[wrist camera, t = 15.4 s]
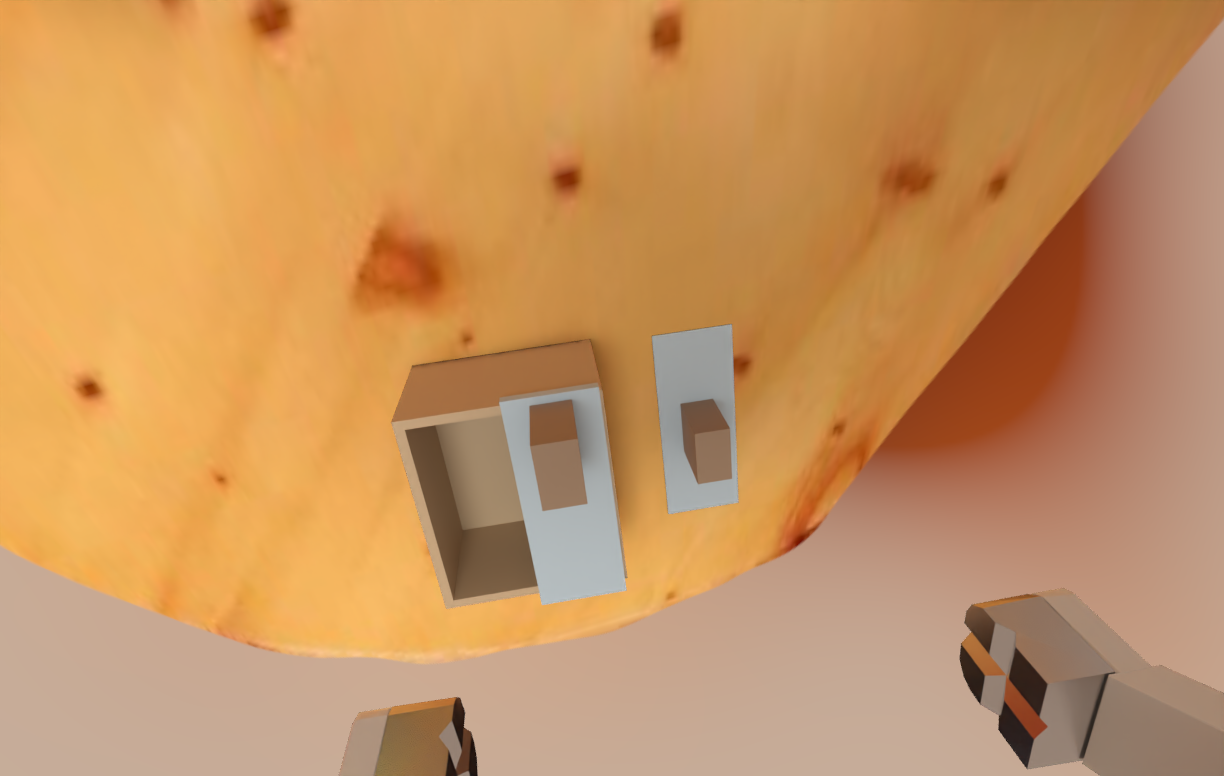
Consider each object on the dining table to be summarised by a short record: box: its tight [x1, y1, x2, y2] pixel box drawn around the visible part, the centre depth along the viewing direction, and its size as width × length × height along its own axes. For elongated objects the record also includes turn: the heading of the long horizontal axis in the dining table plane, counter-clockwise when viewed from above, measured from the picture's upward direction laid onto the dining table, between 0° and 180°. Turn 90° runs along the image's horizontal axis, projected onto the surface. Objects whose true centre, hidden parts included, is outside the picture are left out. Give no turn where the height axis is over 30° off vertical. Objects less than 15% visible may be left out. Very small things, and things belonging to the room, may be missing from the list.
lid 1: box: [499, 383, 627, 605], centre depth 39 cm, size 6×15×5 cm, turn 7°
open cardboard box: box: [391, 339, 627, 609], centre depth 45 cm, size 12×14×8 cm
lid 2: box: [652, 324, 738, 514], centre depth 48 cm, size 6×15×5 cm, turn 6°
